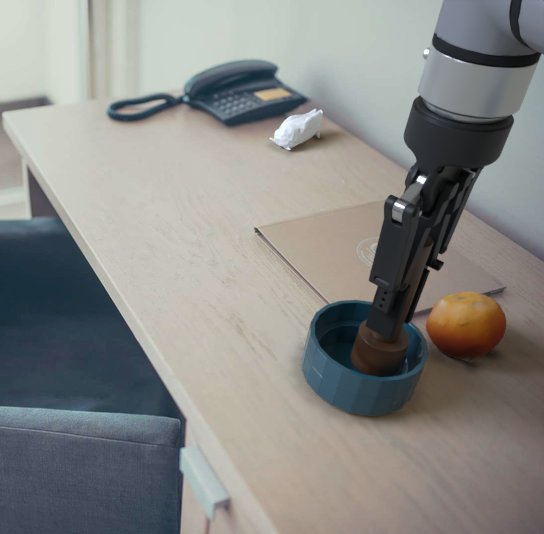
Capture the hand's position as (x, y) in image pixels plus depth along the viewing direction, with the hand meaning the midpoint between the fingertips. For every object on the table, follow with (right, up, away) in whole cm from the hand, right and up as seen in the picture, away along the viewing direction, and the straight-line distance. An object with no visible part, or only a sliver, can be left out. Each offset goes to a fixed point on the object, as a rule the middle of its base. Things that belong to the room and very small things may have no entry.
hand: (388, 322), depth 65 cm
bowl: (-1, -6, +6) cm, 9 cm away
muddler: (0, -4, +3) cm, 6 cm away
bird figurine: (+3, +28, +51) cm, 58 cm away
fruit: (+12, -4, +11) cm, 17 cm away
